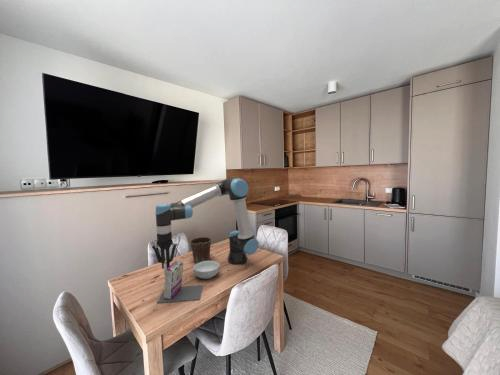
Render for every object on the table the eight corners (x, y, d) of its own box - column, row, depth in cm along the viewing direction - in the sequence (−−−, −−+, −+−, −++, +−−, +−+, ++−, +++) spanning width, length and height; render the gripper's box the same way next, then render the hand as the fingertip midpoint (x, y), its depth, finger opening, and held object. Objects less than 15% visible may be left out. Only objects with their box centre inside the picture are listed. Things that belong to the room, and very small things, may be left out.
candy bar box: (173, 286, 121) (176, 260, 119) (181, 288, 120) (184, 261, 118) (162, 298, 110) (165, 269, 108) (171, 300, 109) (173, 270, 107)
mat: (202, 285, 123) (202, 284, 123) (199, 300, 109) (199, 299, 109) (165, 288, 121) (165, 287, 121) (156, 303, 107) (156, 302, 107)
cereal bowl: (223, 271, 142) (223, 261, 141) (214, 283, 125) (213, 272, 125) (200, 269, 145) (200, 259, 145) (188, 281, 129) (188, 270, 128)
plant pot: (187, 264, 152) (186, 243, 151) (195, 256, 168) (194, 236, 167) (208, 265, 150) (207, 244, 149) (214, 256, 166) (213, 237, 165)
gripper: (178, 230, 116) (180, 270, 118) (154, 231, 115) (156, 271, 117) (174, 233, 109) (176, 276, 111) (149, 235, 108) (151, 278, 109)
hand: (166, 273), depth 114 cm, fingers closed
